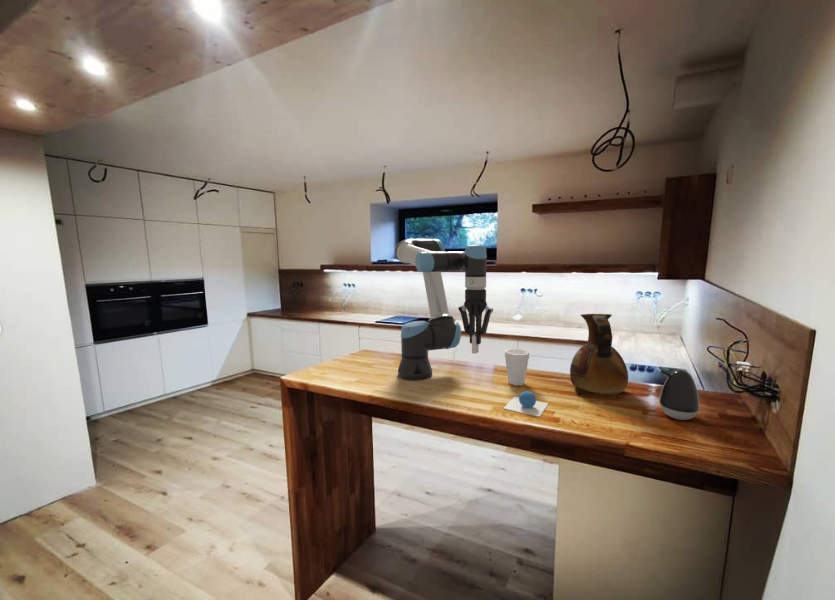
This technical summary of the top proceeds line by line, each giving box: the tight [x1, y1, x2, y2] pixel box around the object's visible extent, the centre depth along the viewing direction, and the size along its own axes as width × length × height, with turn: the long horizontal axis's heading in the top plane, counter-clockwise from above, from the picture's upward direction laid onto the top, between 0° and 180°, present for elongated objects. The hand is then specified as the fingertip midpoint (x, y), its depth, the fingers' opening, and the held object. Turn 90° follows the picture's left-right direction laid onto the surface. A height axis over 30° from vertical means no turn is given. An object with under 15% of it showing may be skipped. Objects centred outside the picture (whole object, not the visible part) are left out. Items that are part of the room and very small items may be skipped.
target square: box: [503, 396, 549, 418], centre depth 121 cm, size 12×12×1 cm
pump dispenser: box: [658, 369, 701, 421], centre depth 111 cm, size 10×10×15 cm
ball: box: [518, 390, 537, 408], centre depth 120 cm, size 6×6×6 cm
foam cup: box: [504, 348, 530, 386], centre depth 143 cm, size 10×9×13 cm
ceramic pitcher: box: [569, 313, 629, 396], centre depth 133 cm, size 20×20×30 cm
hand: (475, 352), depth 130 cm, fingers closed
